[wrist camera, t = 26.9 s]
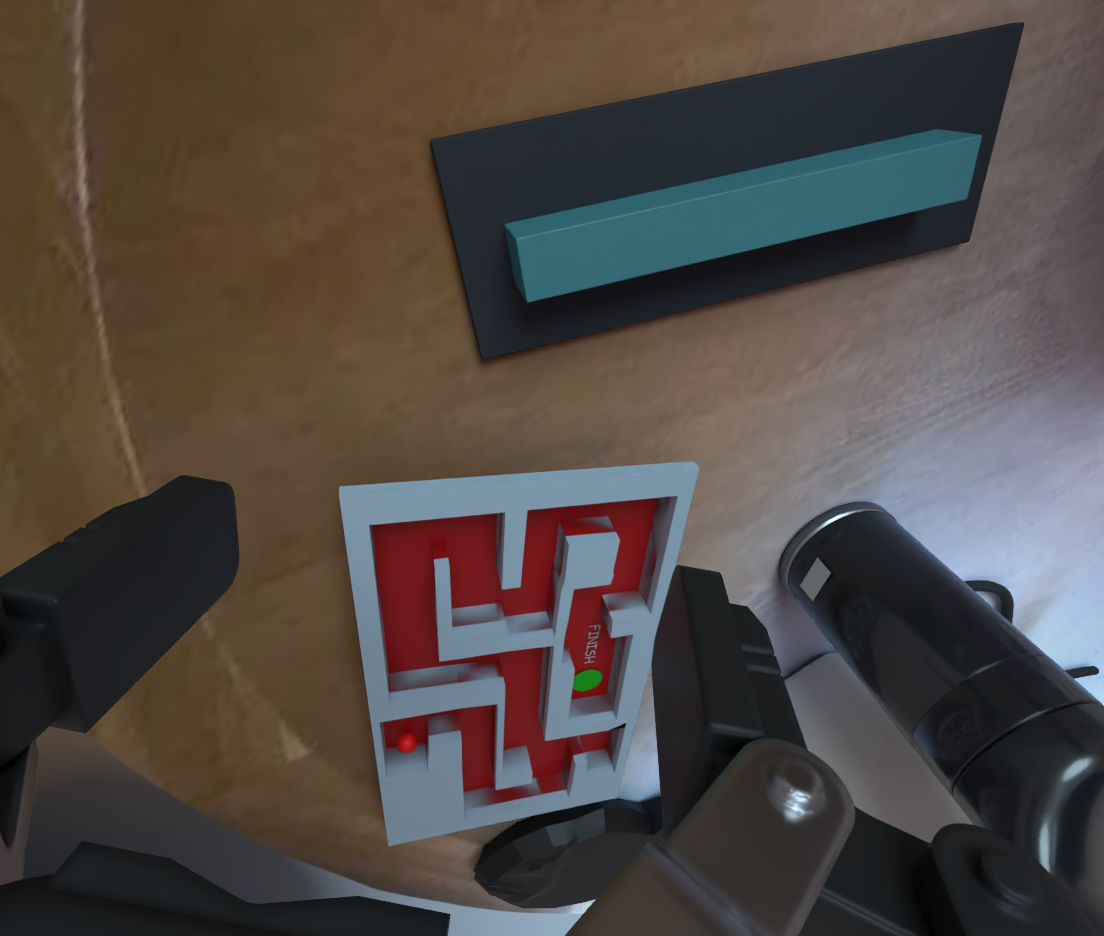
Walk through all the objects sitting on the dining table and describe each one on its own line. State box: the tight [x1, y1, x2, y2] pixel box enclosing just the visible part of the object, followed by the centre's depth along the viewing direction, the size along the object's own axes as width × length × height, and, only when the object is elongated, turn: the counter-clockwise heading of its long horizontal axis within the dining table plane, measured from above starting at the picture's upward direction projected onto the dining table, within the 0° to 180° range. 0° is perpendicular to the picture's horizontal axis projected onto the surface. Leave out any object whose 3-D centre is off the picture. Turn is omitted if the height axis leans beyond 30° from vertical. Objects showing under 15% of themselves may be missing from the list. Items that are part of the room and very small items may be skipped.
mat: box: [430, 22, 1024, 360], centre depth 30 cm, size 28×10×1 cm, turn 98°
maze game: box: [339, 461, 699, 846], centre depth 43 cm, size 35×20×3 cm, turn 175°
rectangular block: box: [504, 129, 982, 303], centre depth 28 cm, size 22×3×3 cm, turn 98°
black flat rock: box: [473, 797, 664, 908], centre depth 62 cm, size 28×18×4 cm, turn 73°
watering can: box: [784, 652, 973, 843], centre depth 50 cm, size 16×27×19 cm, turn 81°
